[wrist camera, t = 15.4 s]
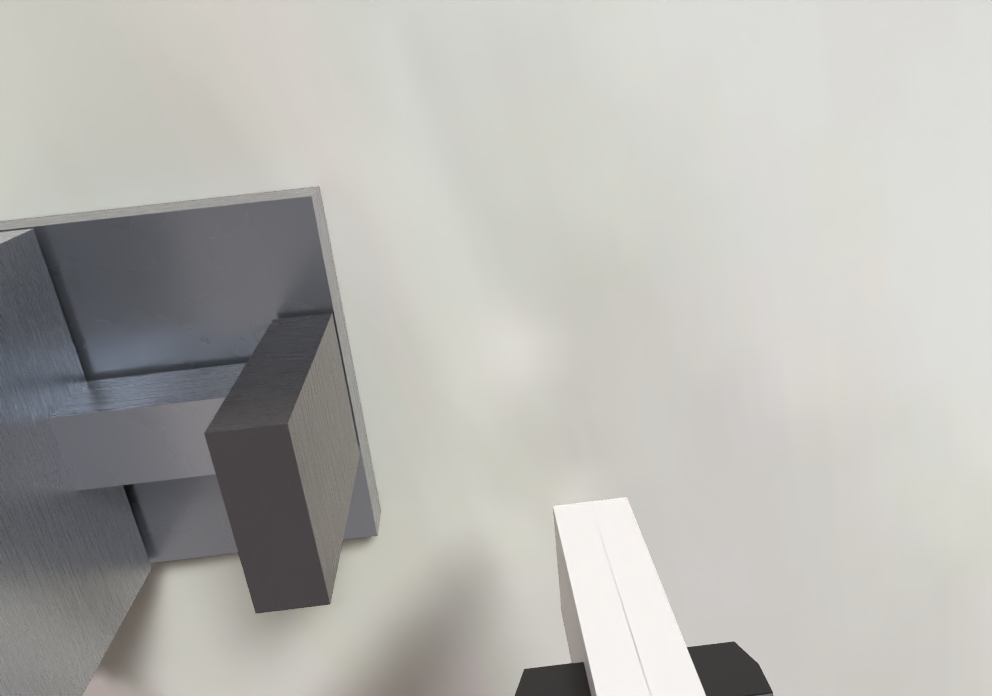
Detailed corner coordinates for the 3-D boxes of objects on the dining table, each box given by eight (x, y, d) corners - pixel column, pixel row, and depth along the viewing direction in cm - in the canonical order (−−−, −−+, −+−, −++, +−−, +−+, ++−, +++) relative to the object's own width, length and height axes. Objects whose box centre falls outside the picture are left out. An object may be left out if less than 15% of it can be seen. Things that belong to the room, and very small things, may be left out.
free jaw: (-78, 240, 21) (-424, 374, 12) (309, 198, 21) (223, 301, 13) (61, 579, 25) (-123, 840, 17) (376, 540, 26) (345, 779, 17)
